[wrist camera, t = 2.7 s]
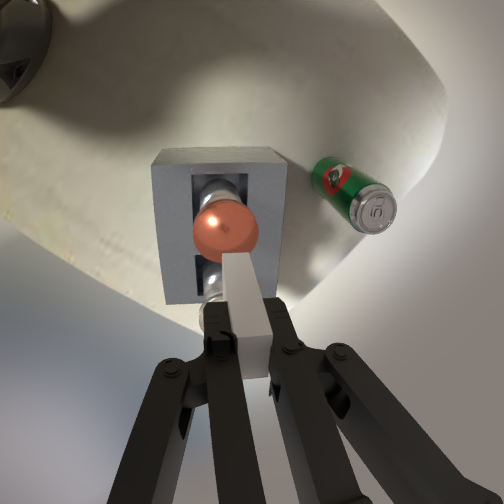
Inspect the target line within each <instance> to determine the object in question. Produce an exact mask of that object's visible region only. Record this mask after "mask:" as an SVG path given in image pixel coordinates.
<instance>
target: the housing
mask: <svg viewBox="0 0 504 504" xmlns="http://www.w3.org/2000/svg"><path fill="white" fill-rule="evenodd" d="M287 167H288V163H287V162H286V161H285V160H284V159H283V158H281V157H280V156H279V155H278V154H277V153H276V152H274V151H273V150H272V149H271V148H270V147H197V148H174V149H162V150H161V151H160V153H159V154H158V156H157V157H156V159H155V160H154V162H153V163H152V165H151V176H152V190H153V202H154V213H155V223H156V233H157V241H158V250H159V258H160V266H161V273H162V280H163V287H164V294H165V300H166V305H171V304H195V303H204V288H203V266H204V264H205V262H206V261H207V260H208V259H207V258H205V257H204V256H202V255H201V254H200V252H199V251H198V250H197V248H196V246H195V244H194V241H193V224H194V220H195V218H196V216H197V214H198V213H199V211H200V192H201V190H202V188H203V186H204V185H205V184H206V183H207V182H209V181H211V180H213V179H217V178H222V179H226V180H229V181H230V182H232V183H233V184H234V185H235V186H236V188H237V190H238V193H239V196H240V198H241V201H242V203H243V204H245V205H246V206H247V207H248V208H249V209H250V210H251V211H252V213H253V215H254V217H255V219H256V221H257V224H258V228H259V237H258V241H257V243H256V246H255V247H254V249H253V250H252V251H251V252H250V253H249V255H250V258H251V261H252V265H253V268H254V272H255V275H256V278H257V282H258V285H259V289H260V292H261V295H262V298H274V297H276V290H277V280H278V270H279V260H280V249H281V239H282V227H283V216H284V204H285V192H286V180H287Z"/></svg>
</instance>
